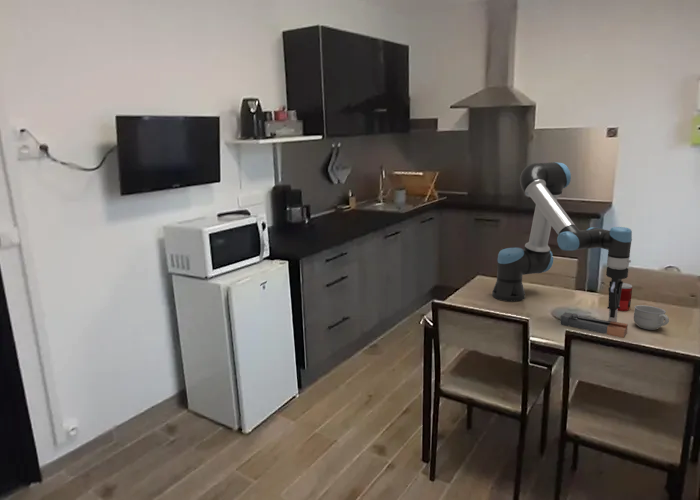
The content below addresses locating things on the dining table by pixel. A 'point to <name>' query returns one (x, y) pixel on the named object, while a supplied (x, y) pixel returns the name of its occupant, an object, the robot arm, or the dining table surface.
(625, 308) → the canned food
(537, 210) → the robot arm
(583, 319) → the arm
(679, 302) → the dining table surface
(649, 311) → the teacup
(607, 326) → the tongs base
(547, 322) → the dining table surface
